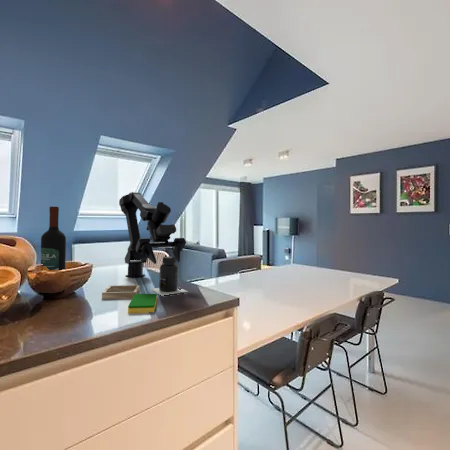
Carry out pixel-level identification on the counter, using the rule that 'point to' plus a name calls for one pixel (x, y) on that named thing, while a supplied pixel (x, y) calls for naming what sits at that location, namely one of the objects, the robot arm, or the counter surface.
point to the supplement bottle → (168, 275)
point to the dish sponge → (142, 303)
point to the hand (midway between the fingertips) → (167, 262)
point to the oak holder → (115, 293)
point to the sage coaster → (167, 292)
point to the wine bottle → (53, 244)
